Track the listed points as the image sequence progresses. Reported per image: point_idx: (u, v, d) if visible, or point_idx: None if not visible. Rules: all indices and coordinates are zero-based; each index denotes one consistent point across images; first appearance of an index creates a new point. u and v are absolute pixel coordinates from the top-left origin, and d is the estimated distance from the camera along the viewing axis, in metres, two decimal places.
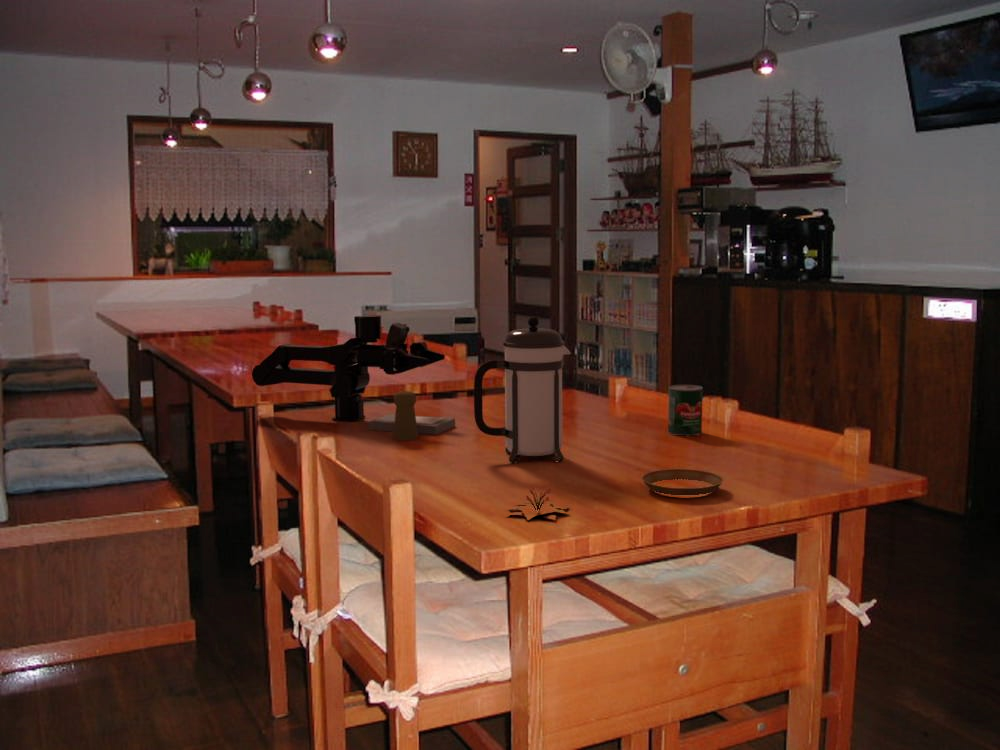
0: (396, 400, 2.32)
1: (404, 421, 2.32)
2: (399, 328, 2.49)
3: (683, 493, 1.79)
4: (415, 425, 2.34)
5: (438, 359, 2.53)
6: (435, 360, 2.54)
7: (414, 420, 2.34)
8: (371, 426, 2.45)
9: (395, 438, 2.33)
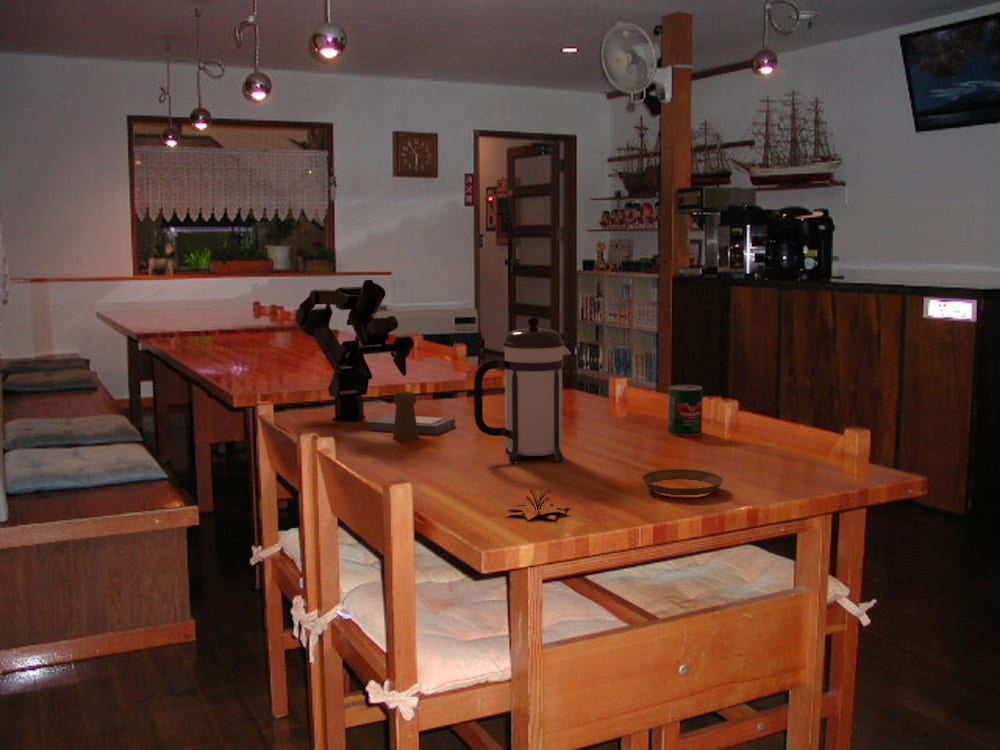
0: (396, 400, 2.32)
1: (404, 421, 2.32)
2: (377, 328, 2.38)
3: (683, 493, 1.79)
4: (415, 425, 2.34)
5: (401, 371, 2.44)
6: (399, 369, 2.45)
7: (414, 420, 2.34)
8: (371, 426, 2.45)
9: (395, 438, 2.33)
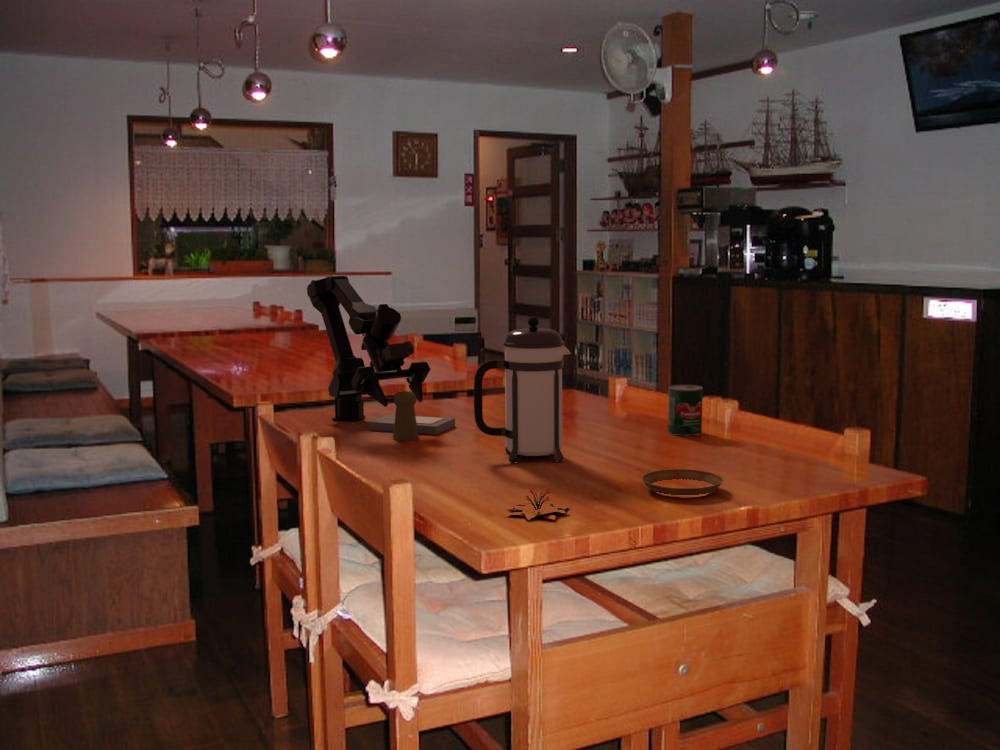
0: (396, 400, 2.32)
1: (404, 421, 2.32)
2: (392, 353, 2.33)
3: (682, 493, 1.79)
4: (415, 425, 2.34)
5: (417, 398, 2.38)
6: (415, 395, 2.39)
7: (414, 420, 2.34)
8: (371, 426, 2.45)
9: (395, 438, 2.33)
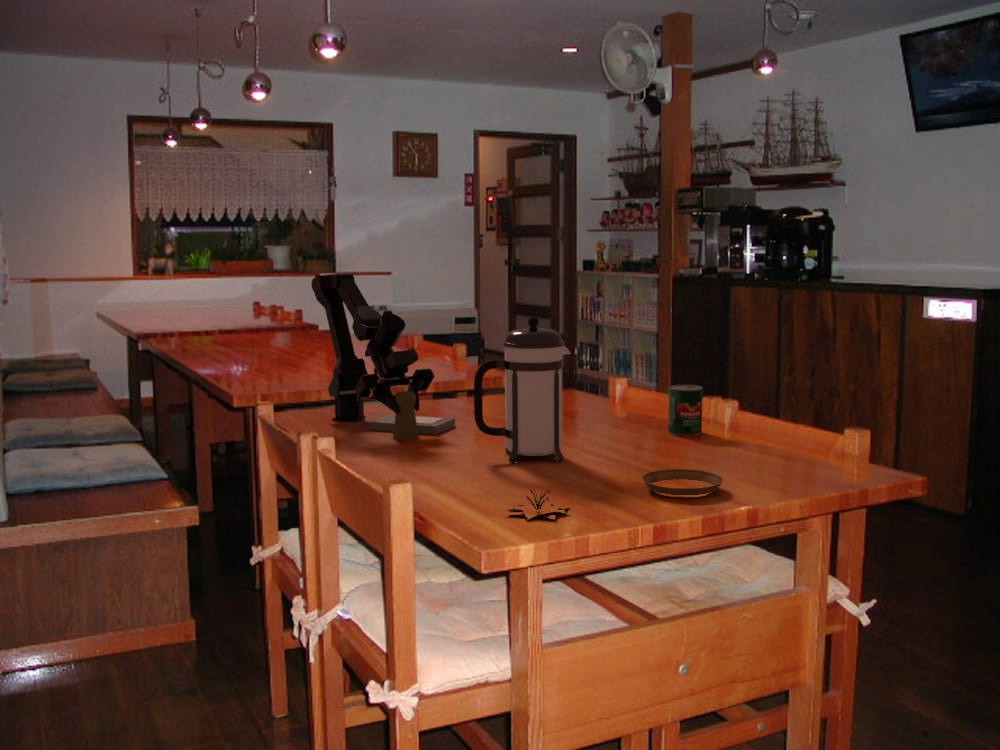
0: (396, 400, 2.32)
1: (404, 421, 2.32)
2: (396, 361, 2.31)
3: (682, 493, 1.79)
4: (415, 425, 2.34)
5: (414, 406, 2.36)
6: None
7: (414, 420, 2.34)
8: (371, 426, 2.45)
9: (395, 438, 2.33)
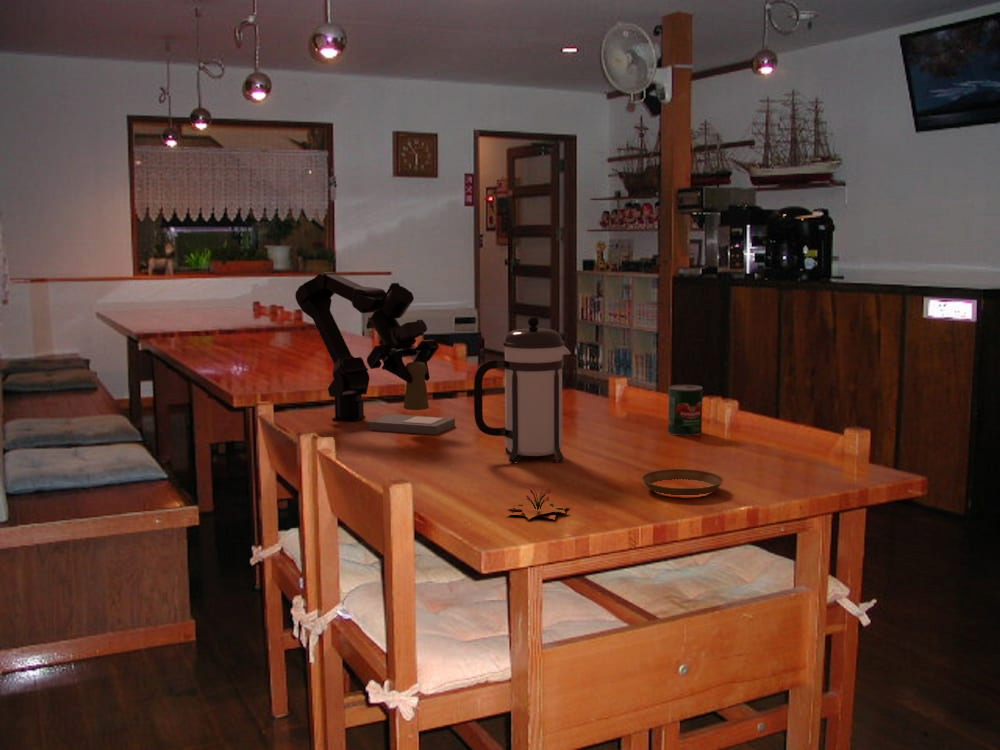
0: (409, 371, 2.37)
1: (417, 390, 2.37)
2: (409, 332, 2.36)
3: (682, 493, 1.79)
4: (426, 394, 2.40)
5: None
6: None
7: (425, 390, 2.39)
8: (371, 426, 2.45)
9: (407, 407, 2.38)
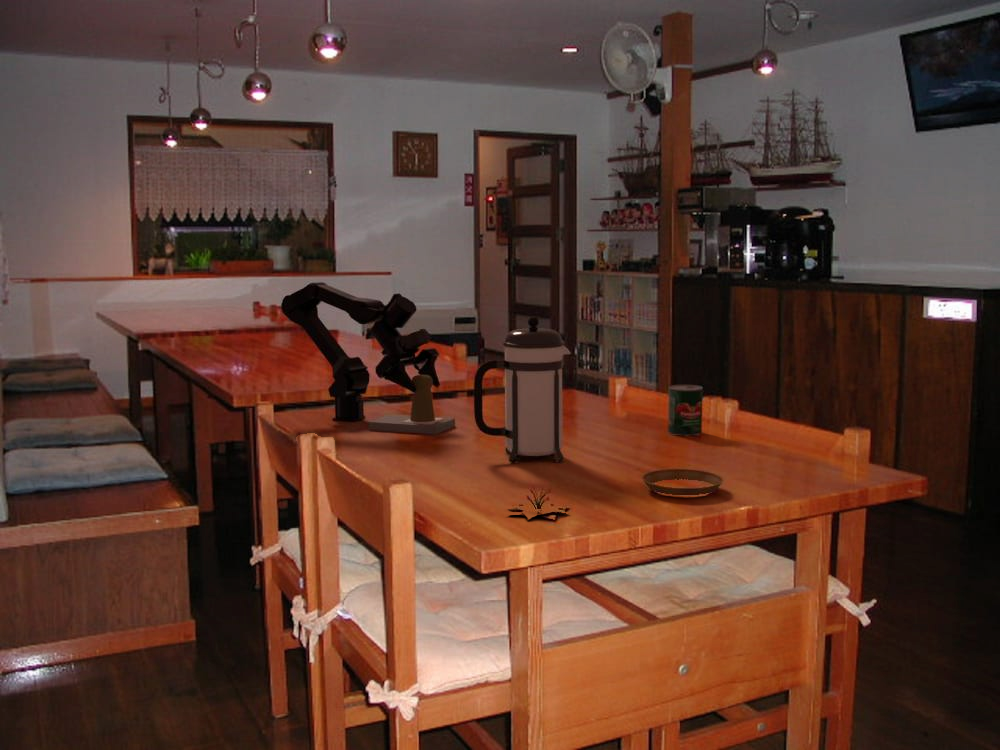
0: (417, 383, 2.43)
1: (425, 403, 2.43)
2: (417, 341, 2.41)
3: (682, 492, 1.79)
4: (432, 406, 2.46)
5: None
6: None
7: (432, 402, 2.45)
8: (371, 426, 2.45)
9: (416, 420, 2.44)
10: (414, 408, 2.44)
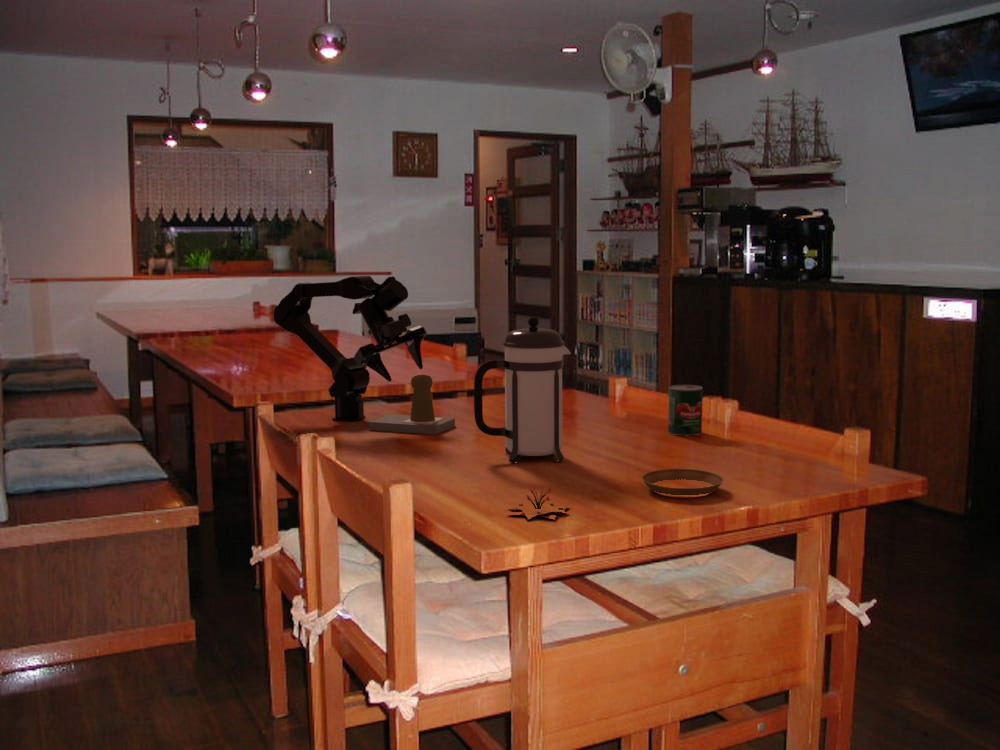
0: (417, 384, 2.42)
1: (425, 403, 2.43)
2: (392, 333, 2.43)
3: (682, 493, 1.79)
4: (432, 406, 2.46)
5: (417, 364, 2.52)
6: (415, 361, 2.52)
7: None
8: (371, 426, 2.45)
9: (416, 420, 2.44)
10: (414, 408, 2.44)
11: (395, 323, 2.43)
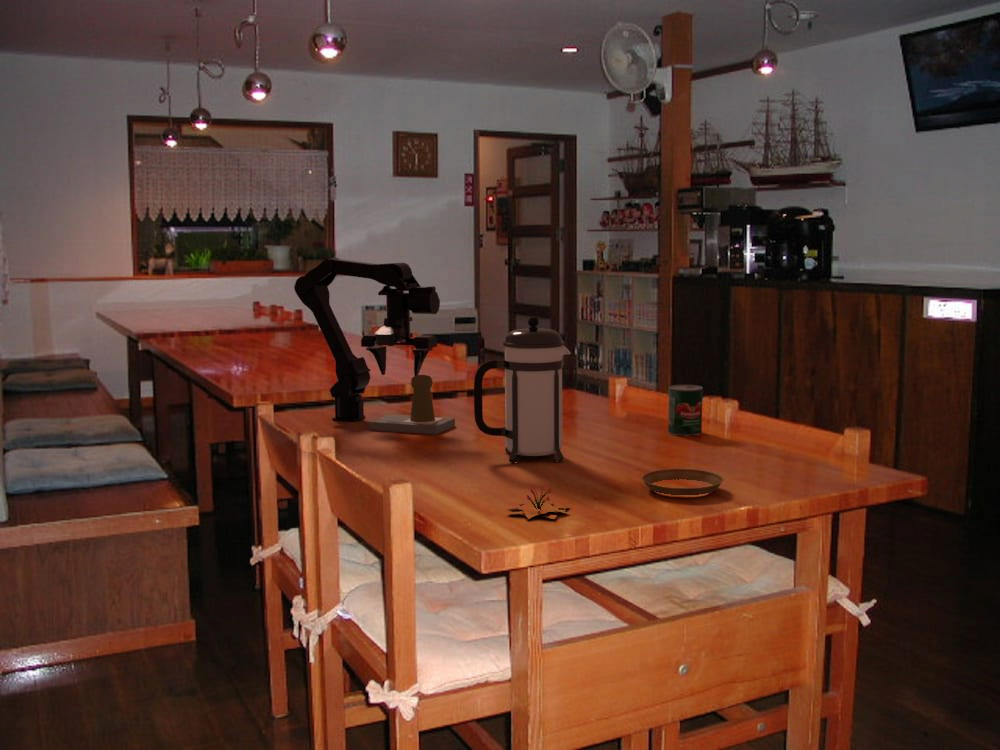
0: (417, 384, 2.42)
1: (425, 403, 2.43)
2: (377, 342, 2.46)
3: (682, 492, 1.79)
4: (432, 406, 2.46)
5: None
6: None
7: None
8: (371, 426, 2.45)
9: (416, 420, 2.44)
10: (414, 408, 2.44)
11: (381, 335, 2.44)
